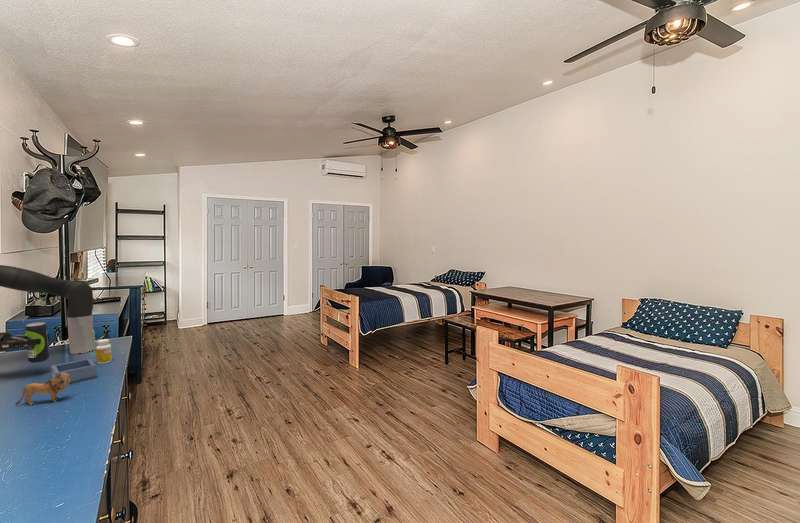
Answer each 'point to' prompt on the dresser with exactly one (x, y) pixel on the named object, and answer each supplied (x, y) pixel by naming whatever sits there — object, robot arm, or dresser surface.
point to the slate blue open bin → (76, 370)
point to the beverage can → (41, 350)
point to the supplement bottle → (103, 351)
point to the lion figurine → (46, 388)
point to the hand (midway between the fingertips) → (44, 339)
